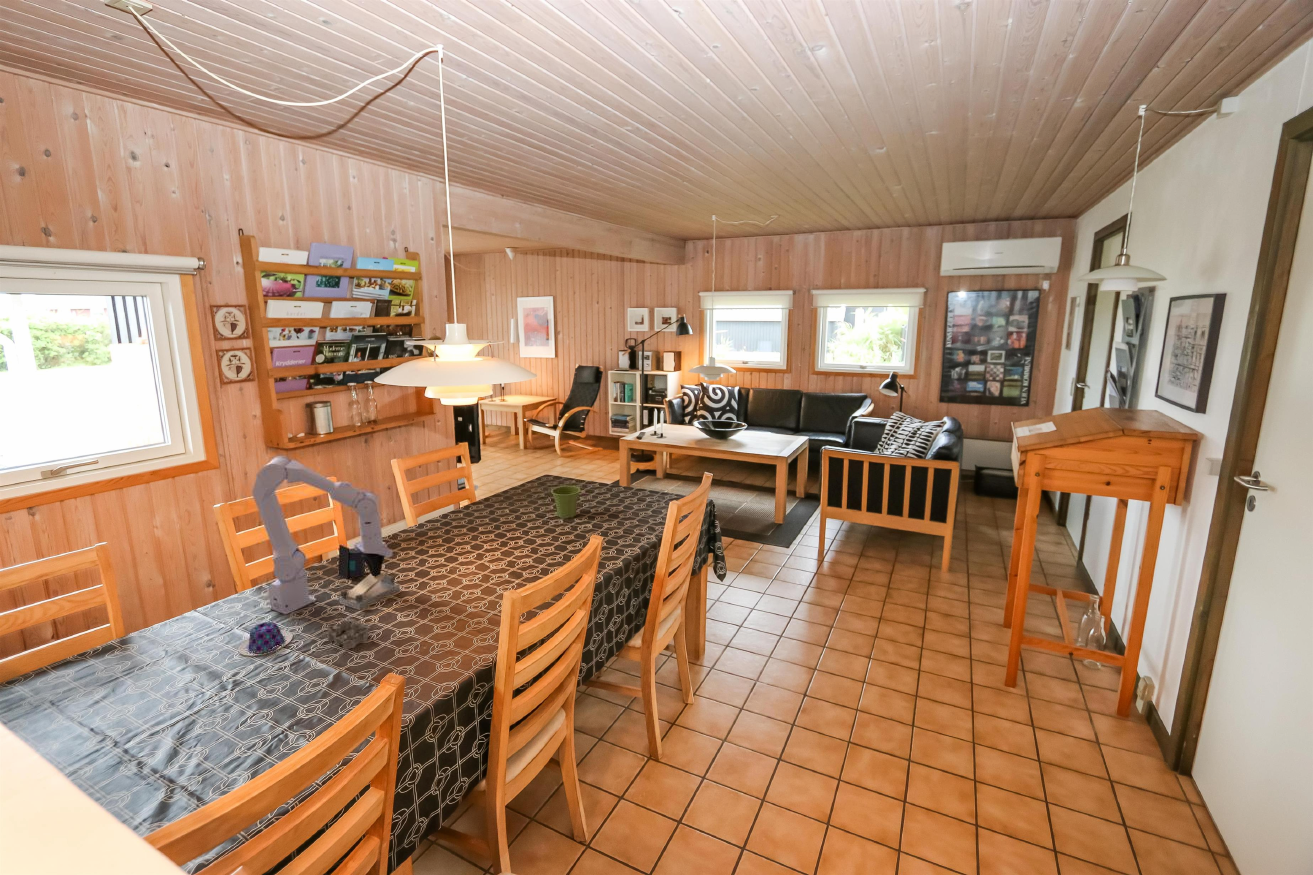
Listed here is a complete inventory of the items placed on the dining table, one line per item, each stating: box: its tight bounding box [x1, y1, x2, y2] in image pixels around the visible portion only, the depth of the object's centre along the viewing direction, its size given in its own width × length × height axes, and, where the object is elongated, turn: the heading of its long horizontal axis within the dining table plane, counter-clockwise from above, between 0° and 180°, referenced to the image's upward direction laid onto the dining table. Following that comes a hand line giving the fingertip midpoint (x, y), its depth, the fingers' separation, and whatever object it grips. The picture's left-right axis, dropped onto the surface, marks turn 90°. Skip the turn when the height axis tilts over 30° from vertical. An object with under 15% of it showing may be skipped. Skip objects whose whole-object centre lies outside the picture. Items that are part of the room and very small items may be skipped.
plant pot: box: [550, 485, 581, 519], centre depth 251 cm, size 12×12×11 cm
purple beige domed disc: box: [238, 621, 293, 657], centre depth 158 cm, size 12×12×5 cm
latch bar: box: [346, 570, 389, 600], centre depth 182 cm, size 12×5×1 cm, turn 152°
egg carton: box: [323, 618, 370, 650], centre depth 161 cm, size 11×8×4 cm
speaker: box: [338, 544, 366, 581], centre depth 197 cm, size 8×6×10 cm
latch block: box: [338, 575, 401, 611], centre depth 183 cm, size 14×9×4 cm, turn 153°
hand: (376, 574), depth 185 cm, fingers closed, pressing on latch bar
